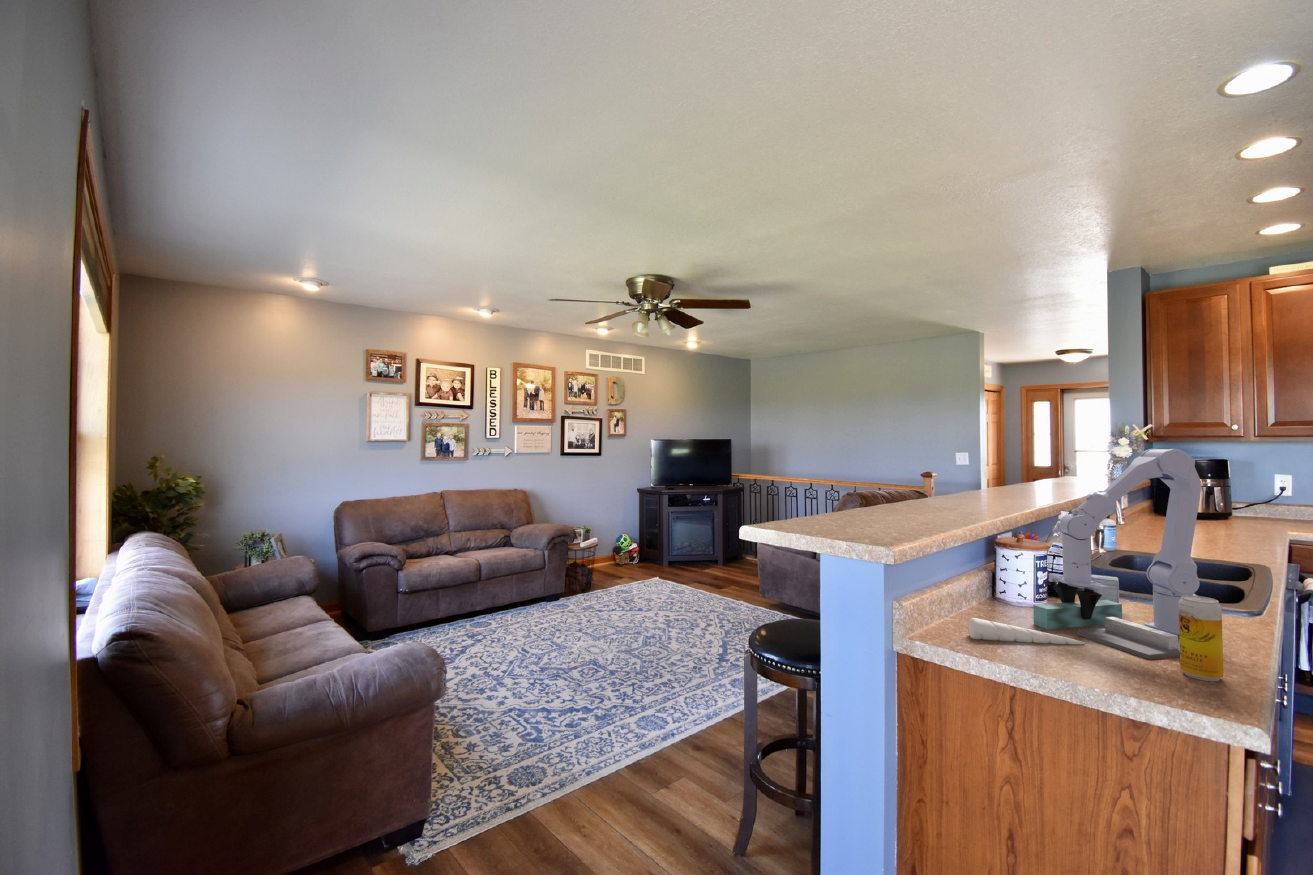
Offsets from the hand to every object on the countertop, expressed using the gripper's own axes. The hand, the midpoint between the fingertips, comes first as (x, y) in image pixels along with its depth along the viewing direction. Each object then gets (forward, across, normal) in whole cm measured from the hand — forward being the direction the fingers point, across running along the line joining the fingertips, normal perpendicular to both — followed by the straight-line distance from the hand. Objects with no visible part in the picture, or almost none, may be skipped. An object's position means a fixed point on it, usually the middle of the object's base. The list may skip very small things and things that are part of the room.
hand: (1077, 616), depth 143 cm
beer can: (+2, +32, -7) cm, 33 cm away
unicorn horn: (+2, +7, -24) cm, 25 cm away
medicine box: (+2, -10, +19) cm, 22 cm away
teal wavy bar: (+2, 0, 0) cm, 2 cm away
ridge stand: (+2, +15, 0) cm, 15 cm away
